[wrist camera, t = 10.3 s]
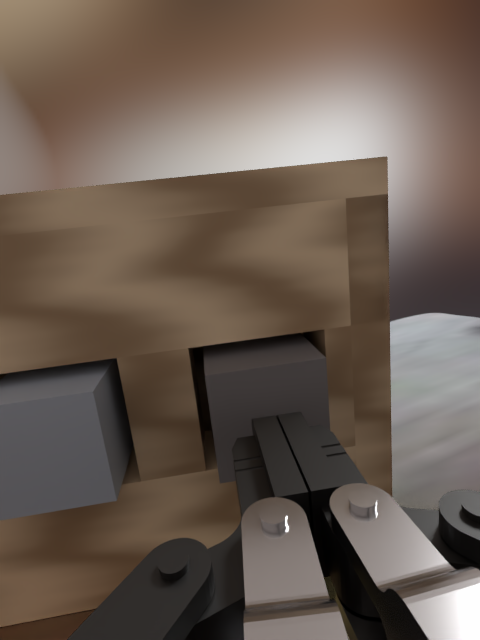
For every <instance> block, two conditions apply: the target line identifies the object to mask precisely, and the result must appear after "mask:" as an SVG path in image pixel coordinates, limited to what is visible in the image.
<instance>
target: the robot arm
mask: <svg viewBox="0 0 480 640" xmlns="http://www.w3.org/2000/svg"><path fill="white" fill-rule="evenodd" d="M252 432H253V436H247V437H240V438H237V440H236V442H235V444H234V446H233V448H232V454H233V462H234V470H235V478H236V486H237V494H238V500H239V507H240V513H241V521H240V524H239V525H238V527H237V529H236V530H235V531H234V533H233V534H231V535H230V536H229V537H228V538H227V539H225V540H224V541H222V542H220V543H219V544H216V545H214V546H212V547H210V548H208V549H207V548H206V546H205V545H204V544H202V543H201V542H199V541H198V540H195V539H191V538H177V539H172V540H169V541H167V542H164V543H162V544H160V545H159V546H157V547H156V548H154V549H153V550H152V551H151V552H150V553H149V554H148V555H147V556H146V557H145V558H144V559H143V560H142V561H141V562H140V563H139V564H138V565H137V566H136V567H135V568H134V569H133V571H132V572H131V573H130V574H129V575H128V576H127V577H126V578H125V579H124V580H123V581H122V582H121V583H120V584H119V585H118V586H117V587H116V588H115V590H114V591H113V592H112V593H111V594H110V595H109V596H108V597H107V598H106V599H105V600H104V601H103V602H102V603H101V604H100V605H99V606H98V607H97V609H96V610H95V611H94V612H93V613H92V614H91V615H90V616H89V617H88V618H87V619H86V620H85V621H84V622H83V623H82V624H81V625H80V626H79V628H78V629H77V630H76V631H75V632H74V633H73V634H72V635H71V636H70V637H69V638H68V639H67V640H348V637H349V639H350V640H480V492H477V491H472V490H455V491H451V492H448V493H446V494H445V495H443V496H442V498H441V499H440V501H439V510H428V509H415V508H406V507H402V506H399V505H398V504H397V503H396V501H395V500H394V499H393V498H392V497H391V496H390V495H389V494H388V493H387V492H385V491H384V490H382V489H380V488H378V487H375V486H372V485H369V484H368V483H367V482H366V480H365V479H364V477H363V476H362V474H361V473H360V471H359V470H358V468H357V467H356V465H355V464H354V462H353V461H352V460H351V458H350V457H349V455H348V454H347V453H346V451H345V449H344V448H343V446H342V445H341V444H340V442H339V440H338V439H337V438H336V436H335V435H334V433H333V432H331V431H330V430H328V429H326V428H325V427H323V426H321V425H316V426H310V427H309V425H308V423H307V422H306V420H305V418H304V416H303V415H302V413H301V412H300V411H299V412H292V413H286V414H279V415H276V416H275V415H273V416H266V417H260V418H253V419H252ZM328 576H330V577H331V580H332V582H333V585H334V587H335V600H334V599H332V600H330V598H329V595H328V591H327V588H326V584H325V580H324V577H328ZM346 632H347V633H346ZM347 634H348V636H347Z"/></svg>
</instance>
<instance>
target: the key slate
mask: <svg viewBox="0 0 480 640" xmlns="http://www.w3.org/2000/svg"><path fill="white" fill-rule="evenodd" d="M133 445H134V444H133V439H132V434H131V429H130V424H129V419H128V413H127V408H126V403H125V398H124V393H123V388H122V383H121V378H120V373H119V368H118V363H117V358H113V359H106V360H99V361H91V362H84V363H77V364H70V365H62V366H55V367H48V368H41V369H33V370H26V371H19V372H12V373H8V374H7V375H5V376H4V377H3V378H1V379H0V520H6V519H12V518H18V517H24V516H30V515H36V514H42V513H48V512H54V511H59V510H65V509H71V508H77V507H83V506H89V505H95V504H101V503H107V502H113V501H117V499H118V495H119V492H120V489H121V485H122V482H123V478H124V475H125V472H126V468H127V465H128V462H129V458H130V455H131V451H132V448H133Z"/></svg>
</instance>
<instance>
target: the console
mask: <svg viewBox="0 0 480 640" xmlns="http://www.w3.org/2000/svg"><path fill="white" fill-rule="evenodd" d="M387 172H388V171H387V157H378V158H369V159H368V158H367V159H357V160H347V161H337V162H328V163H317V164H308V165H297V166H287V167H277V168H267V169H258V170H247V171H237V172H227V173H217V174H207V175H197V176H187V177H178V178H166V179H156V180H146V181H137V182H126V183H116V184H107V185H96V186H86V187H77V188H66V189H56V190H46V191H36V192H26V193H16V194H6V195H0V379H1V378H3V377H4V376H5V375H7V374H8V373H12V372H19V371H26V370H33V369H41V368H48V367H55V366H62V365H70V364H77V363H84V362H91V361H99V360H106V359H113V358H117V363H118V368H119V373H120V378H121V383H122V388H123V393H124V398H125V403H126V408H127V413H128V419H129V424H130V429H131V434H132V439H133V444H134V445H133V448H132V451H131V455H130V458H129V462H128V465H127V468H126V472H125V475H124V478H123V482H122V485H121V489H120V492H119V495H118V499H117V501H113V502H107V503H101V504H95V505H89V506H83V507H77V508H71V509H65V510H59V511H54V512H48V513H42V514H36V515H30V516H24V517H18V518H12V519H6V520H0V627H3V626H8V625H14V624H19V623H24V622H29V621H35V620H40V619H45V618H50V617H55V616H61V615H66V614H71V613H76V612H81V611H87V610H92V609H97V607H98V606H99V605H100V604H101V603H102V602H103V601H104V600H105V599H106V598H107V597H108V596H109V595H110V594H111V593H112V592H113V591H114V590H115V588H116V587H117V586H118V585H119V584H120V583H121V582H122V581H123V580H124V579H125V578H126V577H127V576H128V575H129V574H130V573H131V572H132V571H133V569H134V568H135V567H136V566H137V565H138V564H139V563H140V562H141V561H142V560H143V559H144V558H145V557H146V556H147V555H148V554H149V553H150V552H151V551H152V550H153V549H154V548H156V547H157V546H159V545H160V544H162V543H164V542H167V541H169V540H172V539H177V538H191V539H195V540H198V541H199V542H201V543H202V544H204V545H205V546H206V548H207V549H208V548H210V547H212V546H214V545H216V544H219V543H220V542H222V541H224V540H225V539H227V538H228V537H229V536H230V535H231V534H233V533H234V531H235V530H236V529H237V527H238V525H239V524H240V521H241V513H240V507H239V500H238V494H237V486H236V481H233V482H227V483H221V484H220V481H219V474H218V467H217V460H216V453H215V445H214V438H213V431H212V424H211V417H210V410H209V403H208V396H207V388H206V381H205V372H204V355H203V346H207V345H215V344H222V343H229V342H236V341H244V340H251V339H258V338H266V337H273V336H280V335H287V334H295V333H301V334H302V335H303V336H304V337H305V338H306V339H307V340H308V341H309V342H310V343H311V344H312V345H313V346H314V347H315V348H316V349H317V350H318V351H319V352H320V353H322V354H323V355H324V356H325V357H326V363H327V381H328V398H329V416H330V431H331V432H333V433H334V435H335V436H336V438H337V439H338V440H339V442H340V444H341V445H342V446H343V448H344V449H345V451H346V453H347V454H348V455H349V457H350V458H351V460H352V461H353V462H354V464H355V465H356V467H357V468H358V470H359V471H360V473H361V474H362V476H363V477H364V479H365V480H366V482H367V483H368V484H369V485H372V486H375V487H378V488H380V489H382V490H384V491H385V492H387V493H388V494H389V495H390V496H391V497H392V450H391V380H390V314H389V313H390V310H389V240H388V177H387V176H388V173H387Z"/></svg>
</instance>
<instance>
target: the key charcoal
mask: <svg viewBox="0 0 480 640" xmlns="http://www.w3.org/2000/svg"><path fill="white" fill-rule="evenodd" d="M203 355H204V372H205V381H206V388H207V396H208V403H209V410H210V417H211V424H212V431H213V438H214V445H215V453H216V460H217V467H218V474H219V481H220V484H221V483H227V482H233V481H236V478H235V470H234V462H233V454H232V448H233V446H234V444H235V442H236V440H237V438H240V437H247V436H253V432H252V419H253V418H260V417H266V416H273V415H275V416H276V415H279V414H286V413H292V412H299V411H300V412H301V413H302V415H303V416H304V418H305V420H306V422H307V423H308V425H309V427H310V426H316V425H321V426H323V427H325V428H326V429H328V430H330V416H329V398H328V381H327V363H326V357H325V356H324V355H323V354H322V353H320V352H319V351H318V350H317V349H316V348H315V347H314V346H313V345H312V344H311V343H310V342H309V341H308V340H307V339H306V338H305V337H304V336H303V335H302V334H301V333H295V334H287V335H280V336H273V337H266V338H258V339H251V340H244V341H236V342H229V343H222V344H215V345H207V346H203Z"/></svg>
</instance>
